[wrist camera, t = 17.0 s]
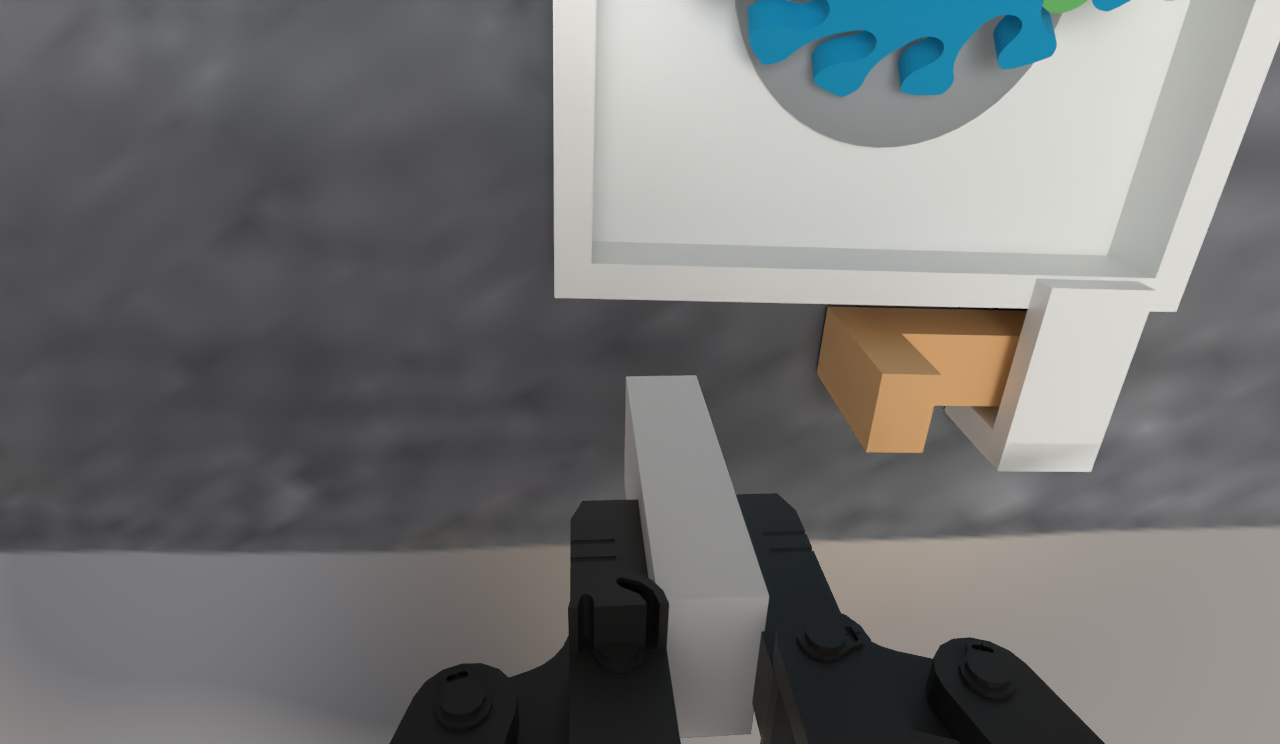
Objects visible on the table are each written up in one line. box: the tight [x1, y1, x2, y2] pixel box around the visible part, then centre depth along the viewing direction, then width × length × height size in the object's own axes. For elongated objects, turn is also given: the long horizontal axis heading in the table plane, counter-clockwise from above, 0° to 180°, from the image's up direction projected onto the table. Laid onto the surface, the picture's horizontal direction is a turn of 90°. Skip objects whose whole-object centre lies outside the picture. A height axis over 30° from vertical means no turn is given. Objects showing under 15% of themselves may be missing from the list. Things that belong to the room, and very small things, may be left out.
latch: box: [817, 306, 1027, 453], centre depth 22 cm, size 9×2×5 cm, turn 87°
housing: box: [553, 0, 1280, 472], centre depth 19 cm, size 18×22×4 cm
